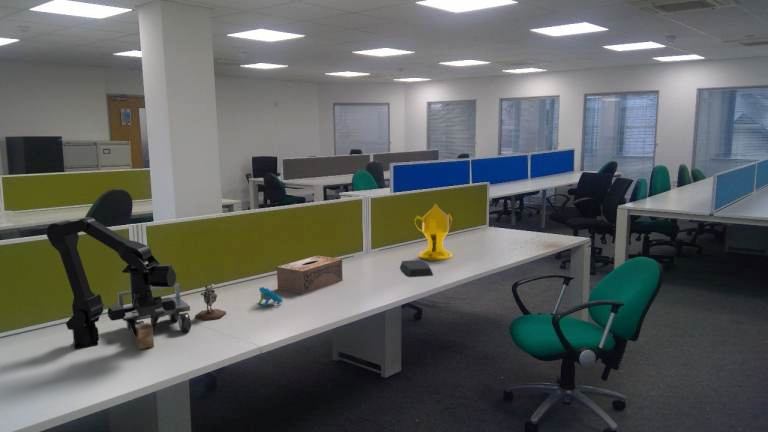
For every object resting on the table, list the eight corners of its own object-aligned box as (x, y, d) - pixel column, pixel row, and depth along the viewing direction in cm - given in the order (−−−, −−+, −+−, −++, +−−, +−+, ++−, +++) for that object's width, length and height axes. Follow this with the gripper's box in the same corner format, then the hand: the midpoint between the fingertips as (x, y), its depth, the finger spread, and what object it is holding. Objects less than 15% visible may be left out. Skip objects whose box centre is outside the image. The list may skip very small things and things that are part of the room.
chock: (140, 349, 172) (138, 330, 172) (136, 343, 177) (134, 325, 176) (154, 346, 175) (152, 327, 174) (149, 340, 180) (148, 322, 179)
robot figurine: (190, 316, 204) (188, 284, 202) (211, 310, 212) (210, 278, 210) (208, 322, 198) (206, 289, 196) (230, 315, 205) (228, 283, 203)
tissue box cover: (318, 276, 260) (317, 255, 258) (342, 281, 252) (342, 259, 250) (277, 289, 239) (276, 266, 237) (303, 295, 231) (302, 271, 229)
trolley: (132, 344, 177) (129, 306, 175) (120, 327, 193) (117, 292, 191) (196, 331, 188) (194, 295, 187) (180, 316, 204) (178, 283, 203)
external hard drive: (424, 266, 278) (424, 258, 277) (434, 276, 259) (434, 267, 258) (398, 268, 276) (398, 259, 275) (406, 277, 257) (406, 269, 256)
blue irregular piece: (288, 301, 216) (270, 286, 211) (280, 314, 213) (261, 299, 208) (273, 298, 224) (255, 284, 219) (265, 311, 222) (246, 297, 217)
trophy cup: (406, 256, 300) (405, 203, 295) (442, 250, 312) (443, 200, 308) (425, 262, 285) (425, 207, 281) (463, 256, 297) (463, 203, 293)
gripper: (112, 297, 161) (116, 349, 164) (179, 287, 172) (182, 336, 174) (105, 289, 171) (109, 338, 173) (169, 279, 181) (172, 326, 183)
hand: (144, 335), depth 176 cm, fingers open, 5 cm apart
